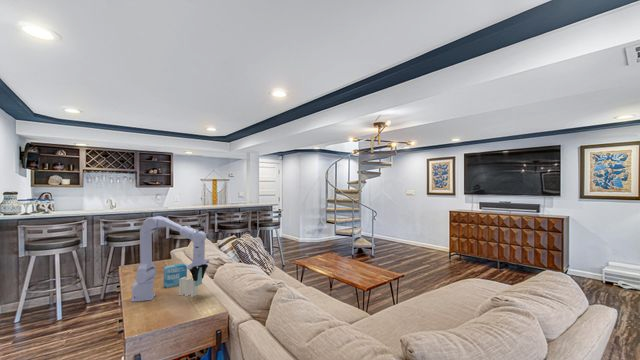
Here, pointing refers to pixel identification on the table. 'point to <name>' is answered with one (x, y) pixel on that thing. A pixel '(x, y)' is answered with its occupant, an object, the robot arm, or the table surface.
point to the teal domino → (199, 277)
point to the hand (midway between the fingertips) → (198, 279)
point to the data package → (174, 274)
